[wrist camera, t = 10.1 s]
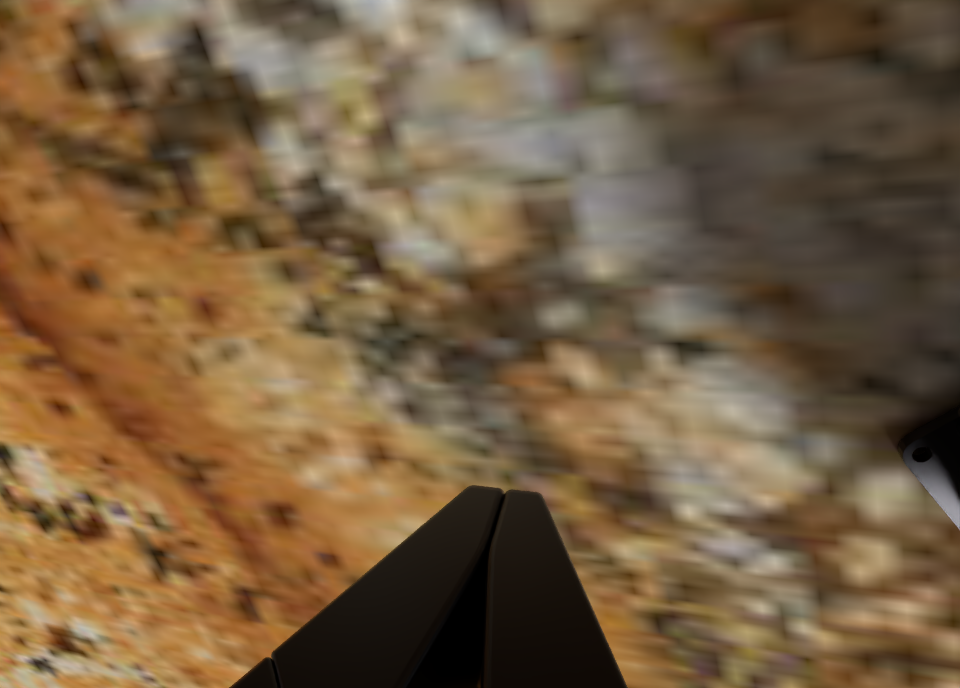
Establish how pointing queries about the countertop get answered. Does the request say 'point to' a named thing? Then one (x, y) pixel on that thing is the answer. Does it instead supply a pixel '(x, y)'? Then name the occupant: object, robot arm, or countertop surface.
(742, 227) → the countertop surface
